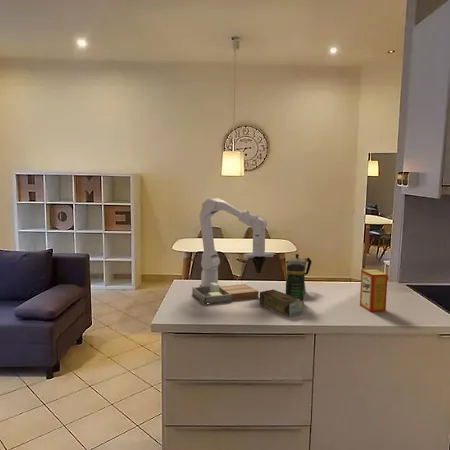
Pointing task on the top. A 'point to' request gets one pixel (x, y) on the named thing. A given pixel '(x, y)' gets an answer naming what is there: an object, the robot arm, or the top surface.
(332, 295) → the top surface
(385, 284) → the baking soda box
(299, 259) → the coffeepot
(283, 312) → the beverage carton
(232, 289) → the walnut board
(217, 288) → the tile
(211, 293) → the tile
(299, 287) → the coffee jar
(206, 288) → the tray
